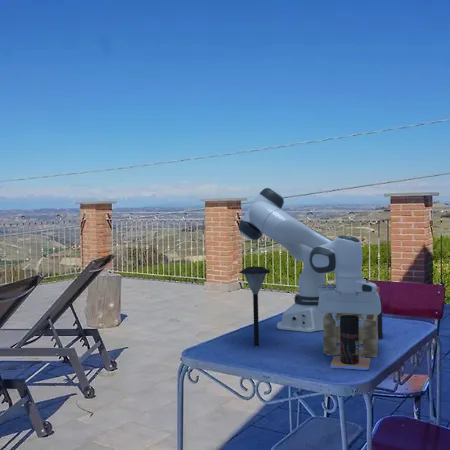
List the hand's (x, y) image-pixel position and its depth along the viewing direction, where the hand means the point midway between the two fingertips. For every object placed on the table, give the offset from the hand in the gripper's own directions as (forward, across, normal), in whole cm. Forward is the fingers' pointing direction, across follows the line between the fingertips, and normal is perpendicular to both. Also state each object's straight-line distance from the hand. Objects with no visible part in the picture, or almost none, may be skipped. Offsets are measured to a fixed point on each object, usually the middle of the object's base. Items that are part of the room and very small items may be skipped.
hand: (349, 326), depth 171 cm
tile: (+12, 0, 0) cm, 13 cm away
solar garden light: (+13, -36, +15) cm, 41 cm away
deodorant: (+12, 0, 0) cm, 12 cm away
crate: (+12, -1, +18) cm, 22 cm away
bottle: (+13, +6, +38) cm, 41 cm away
